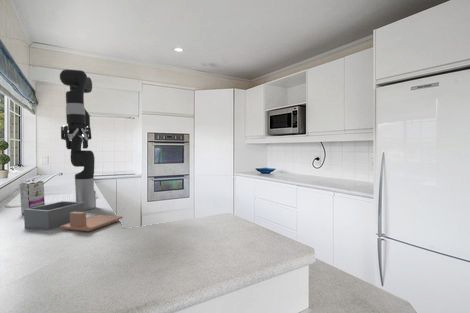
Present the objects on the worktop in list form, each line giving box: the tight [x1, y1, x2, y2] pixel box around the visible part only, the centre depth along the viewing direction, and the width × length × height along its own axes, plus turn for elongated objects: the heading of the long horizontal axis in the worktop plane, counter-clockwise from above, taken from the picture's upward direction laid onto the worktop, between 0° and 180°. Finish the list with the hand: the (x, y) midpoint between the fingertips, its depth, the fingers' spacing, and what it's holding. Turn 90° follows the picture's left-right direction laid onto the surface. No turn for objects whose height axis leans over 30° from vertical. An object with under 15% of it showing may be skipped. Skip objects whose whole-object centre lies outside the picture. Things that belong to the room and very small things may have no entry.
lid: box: [59, 211, 124, 233], centre depth 115 cm, size 19×15×8 cm
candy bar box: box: [19, 180, 46, 215], centre depth 145 cm, size 11×5×16 cm, turn 179°
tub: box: [23, 200, 86, 231], centre depth 120 cm, size 18×14×8 cm
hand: (77, 148), depth 122 cm, fingers open, 8 cm apart
